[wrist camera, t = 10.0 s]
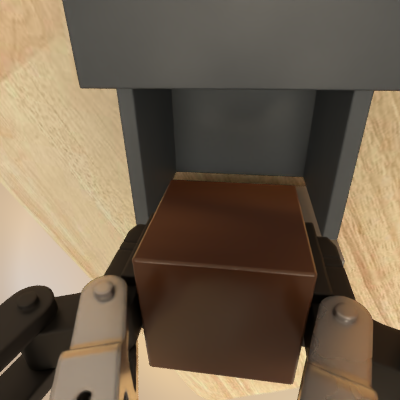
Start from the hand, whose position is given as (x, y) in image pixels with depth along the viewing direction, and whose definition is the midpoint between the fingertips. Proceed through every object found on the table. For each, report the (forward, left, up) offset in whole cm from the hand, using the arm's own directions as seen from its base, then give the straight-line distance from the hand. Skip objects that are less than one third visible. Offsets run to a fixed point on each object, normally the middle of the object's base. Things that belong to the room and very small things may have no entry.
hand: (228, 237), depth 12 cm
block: (0, 0, 0) cm, 0 cm away
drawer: (0, -1, -13) cm, 13 cm away
